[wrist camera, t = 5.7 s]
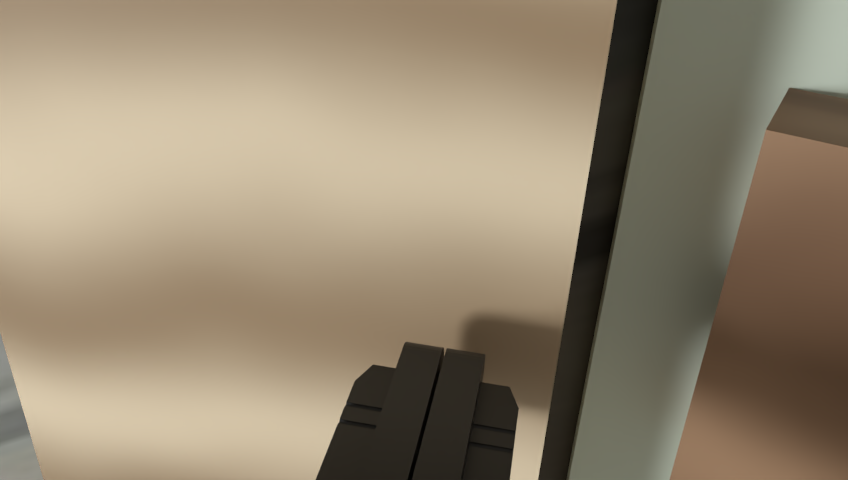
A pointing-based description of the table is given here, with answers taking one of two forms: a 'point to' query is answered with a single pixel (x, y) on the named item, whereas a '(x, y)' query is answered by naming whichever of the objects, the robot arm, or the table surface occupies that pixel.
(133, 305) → the birch deck
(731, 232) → the sage mat
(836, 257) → the walnut tile
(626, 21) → the table surface
